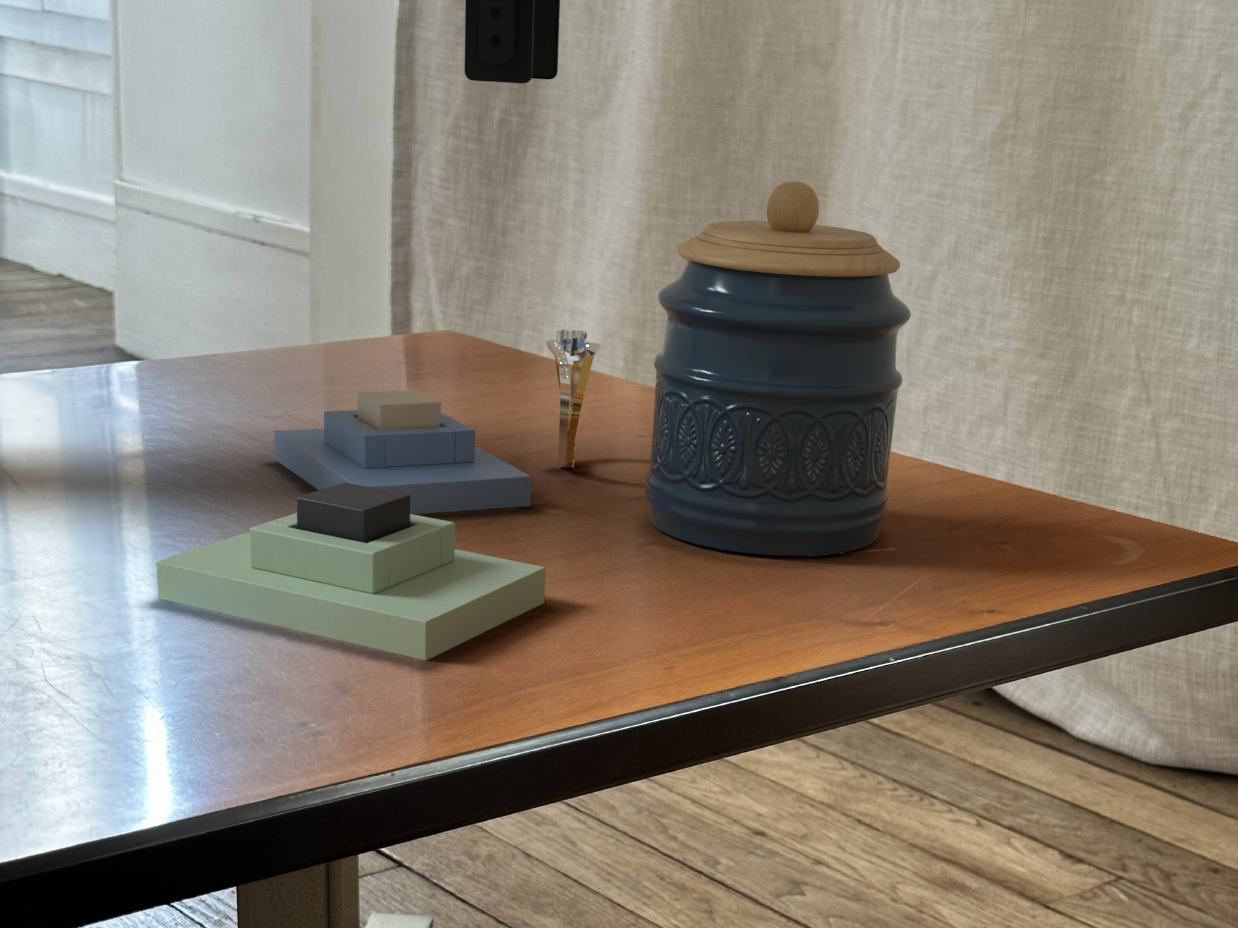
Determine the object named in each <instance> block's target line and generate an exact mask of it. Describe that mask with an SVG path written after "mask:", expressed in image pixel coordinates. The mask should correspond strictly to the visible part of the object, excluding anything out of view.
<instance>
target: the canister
mask: <svg viewBox="0 0 1238 928" xmlns="http://www.w3.org/2000/svg"><path fill="white" fill-rule="evenodd" d="M819 213H820V204H819V199H818V196H817V194H816V192H815V190H814V189H813V188H812V187H811V186H810V185H809V184H806V183H804V182H802V181H801V182H800V181H791V180H790V181H785V182H782V183H780V184H779V185H777V186H776V187H775V188H774V189H773V190H772V192H771V194H770V196H769V198H768V200H767V205H766V213H765V214H766V219H767V220H765V221H764V220H729V221H728V220H727V221H725V220H724V221H717V222H711V223H708V224H707V225H706V226H705V228H704V229H703V231H701V232H699V233H698V234H696V235H695V236H693V237H690V238H689V239H687V240H685V241H683V242H682V243H680V244H679V245H678V246H677V248H676V249H677V254H678V256H679V257H680V258H682V259H685V260H686V262H685V264H684V267H683V269H682V271H681V274H680V275H679V277H678V278H677V279H676V280H674V281H672V282H670V283H669V284H668V285H666V286H664V287H663V288H662V289H661V290H660V291H659V292H658V294H657V301H658V303H659V304H660V307H662V309H663V310H664V311H665V313H666V326H665V334H664V342H663V346H662V350H661V351H660V352H659V353H658V354H656V356H655V357H654V359H653V367H654V369H655V388H654V403H653V419H652V433H651V448H650V461H649V462H650V463H649V468H648V469H647V471H646V474H645V481H646V483H647V484H646V486H645V492H644V494H645V499H646V502H647V505H648V520H649V522H650V523H651V524H652V525H653V526H654V527H655V528H656V529H658V530H659V531H661V532H663V533H664V534H666V535H668V536H670V537H673V538H674V539H675V538H676V539H678V540H681V541H684V542H687V543H691V544H693V545H694V544H695V545H697V546H702V547H706V548H709V549H715V550H720V551H728V552H733V553H734V552H735V553H742V554H750V555H759V556H771V557H772V556H777V557H816V556H829V555H839V554H843V553H849V552H854V551H857V550H860V549H863V548H865V547H868V546H870V545H871V544H872V543H874V542H875V541H877V539H878V538H879V535H880V530H881V526H882V523H883V521H884V519H885V518H886V515H887V512H888V509H887V508H888V507H887V503H888V500H889V496H890V495H889V489H888V475H889V467H890V459H891V450H892V443H893V434H894V427H895V419H896V410H897V402H898V395H899V394H898V392H899V389H900V388H901V386H902V384H903V376H902V373H901V372H900V371H899V370H898V369H897V344H898V343H897V342H898V334H899V331H900V330H901V329H902V328H903V327H904V326H905V325H906V324H907V323H908V322H909V321H910V319H911V318H912V317H911V316H912V312H911V310H910V308H909V307H908V306H907V304H906V303H904V302H903V301H902V300H900V299H899V297H897V296H896V295H895V294H894V293H893V291H892V290H893V289H892V285H891V281H890V277H889V275H891V274H894V273H897V271H899V269H900V268H901V262H900V260H899V259H897V258H896V257H895V256H894V255H893V254H891V253H890V252H888V251H887V250H885V249H884V248H883V247H882V246H881V245H880V244H879V243H878V241H877V239H876V237H875V236H874V235H872V234H870V233H867V232H864V231H860V230H856V229H851V228H844V227H837V226H829V225H823V224H822V225H821V224H816V223H817V220H818V217H819Z"/></svg>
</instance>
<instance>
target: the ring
mask: <svg viewBox="0 0 1238 928" xmlns="http://www.w3.org/2000/svg"><path fill="white" fill-rule="evenodd" d="M555 333H556V335H555V339H552V340H546V341H545V343H546V345H547V349H548V350H549V351H550V352H551V354H552V356H553V357H554V360H555V368H556V374H557V375H556V376H557V381H558V387H559V399H560V400H559V427H558V428H559V429H558V430H559V432H558V458H559V459H558V463H559V468H560V469H573V470H574V469H575V465H576V461H575V459H576V451H577V450H576V449H577V440H578V425H579V421H580V416H581V411H582V407H583V404H584V399H585V395H586V390H587V385H588V381H589V376H590V373H591V369H592V366H593V362H594V358H595V355H596V354H597V353H598V351H599V350H600V348H601V344H600V343H599V342H591V341H587V336H588V333H587V331H585V330H573V329H572V330H571V331H570V330H565V329H560V330H556V332H555ZM569 361H572V368H571V374H570V365H569Z"/></svg>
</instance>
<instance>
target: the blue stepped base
mask: <svg viewBox="0 0 1238 928" xmlns="http://www.w3.org/2000/svg"><path fill="white" fill-rule="evenodd" d="M273 443H274V460H275V461H276V462H277V463H279V464H280V465H282V466H284V467H285V468H286V469H288V470H289V471H290V472H292V473H293V474H295V475H296V476H297V477H299V478H300V479H301V480H303V481H305V482H306V483H307V484H308V485H310V486H312V487H313V488H314V489H316V491H319V490H322V489H325V488H328V487H331V486H335V485H338V484H341V483H344V482H345V483H350V484H356V485H361V486H366V487H372V488H377V489H382V490H387V491H393V492H398V493H403V494H408V495H410V514H413V515H418V516H420V515H430V514H432V515H433V514H444V513H445V514H446V513H458V512H459V513H460V512H472V511H485V510H486V511H487V510H499V509H500V510H501V509H513V508H527V507H531V503H532V502H531V501H532V478H533V477H532V476H531V475H530V474H528V473H526V472H524V471H522V470H521V469H519V468H517V467H515V466H513V465H511V464H510V463H508V462H506V461H504V460H502V459H500V458H498V457H496V456H494V455H493V454H491V453H489V452H488V451H485V450H484V449H481V448H480V447H478V446H476V430H475V429H473V428H472V427H470V426H468V425H466V424H464V423H462V422H460V421H458V420H456V419H454V418H452V417H450V416H449V415H448V414H444V413H443V412H441V426H440V427H431V428H411V429H390V430H376V429H374V428H373V427H371V426H369V425H367V424H366V423H364V422H362V421H360V420H359V419H358V409H350V410H328V411H325V410H324V411H323V428H308V429H305V428H304V429H287V430H284V429H283V430H275V431H274V432H273Z"/></svg>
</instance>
